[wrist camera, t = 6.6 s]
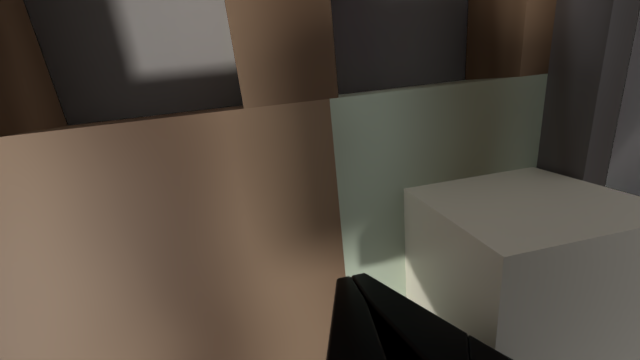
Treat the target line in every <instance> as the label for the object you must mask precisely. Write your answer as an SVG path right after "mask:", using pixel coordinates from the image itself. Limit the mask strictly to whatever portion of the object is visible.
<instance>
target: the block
mask: <svg viewBox="0 0 640 360" xmlns="http://www.w3.org/2000/svg"><path fill="white" fill-rule="evenodd" d="M404 226H405V271H406V297H407V298H408V299H410V300H412V301H413V302H415V303H417V304H418V305H420V306H422V307H423V308H425V309H427V310H429V311H430V312H432V313H434V314H435V315H437V316H439V317H440V318H442V319H444V320H445V321H447V322H449V323H450V324H452V325H454V326H456V327H457V328H459V329H461V330H462V331H464V332H466V333H467V334H468V336H469V335H471V336H473V337H474V338H476V339H478V340H479V341H481V342H483V343H484V344H486V345H488V346H490V347H492V348H493V349H495V350H497V351H499V352H500V353H502V354H504V355H506V356H507V357H509V358H511V359H513V360H640V196H636V195H633V194H629V193H626V192H622V191H618V190H615V189H611V188H608V187H604V186H600V185H597V184H593V183H589V182H586V181H582V180H579V179H575V178H571V177H568V176H564V175H561V174H557V173H553V172H550V171H546V170H542V169H539V168H535V167H529V168H523V169H517V170H511V171H505V172H499V173H493V174H487V175H481V176H475V177H469V178H463V179H457V180H451V181H446V182H440V183H434V184H428V185H422V186H416V187H410V188H404Z"/></svg>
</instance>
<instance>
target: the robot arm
mask: <svg viewBox="0 0 640 360" xmlns="http://www.w3.org/2000/svg"><path fill="white" fill-rule="evenodd" d="M326 360H513V359H511V358H509V357H507V356H506V355H504V354H502V353H500V352H499V351H497V350H495V349H493V348H492V347H490V346H488V345H486V344H484V343H483V342H481V341H479V340H478V339H476V338H474V337H473V336H471V335H469V336H468V334H467V333H466V332H464V331H462V330H461V329H459V328H457V327H456V326H454V325H452V324H450V323H449V322H447V321H445V320H444V319H442V318H440V317H439V316H437V315H435V314H434V313H432V312H430V311H429V310H427V309H425V308H423V307H422V306H420V305H418V304H417V303H415V302H413V301H412V300H410V299H408V298H407V297H405V296H403V295H402V294H400V293H398V292H396V291H395V290H393V289H391V288H390V287H388V286H386V285H385V284H383V283H381V282H380V281H378V280H376V279H375V278H373V277H371V276H369V275H368V274H366V273H361V274H356V275H352V277H350V276H346V277H341V278H338V279H337V280H336V288H335V295H334V303H333V310H332V318H331V326H330V333H329V341H328V348H327V356H326Z"/></svg>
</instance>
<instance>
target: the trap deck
mask: <svg viewBox="0 0 640 360" xmlns="http://www.w3.org/2000/svg"><path fill="white" fill-rule="evenodd" d="M225 5H226V11H227V17H228V22H229V28H230V34H231V39H232V45H233V51H234V56H235V62H236V68H237V73H238V79H239V85H240V90H241V96H242V102H243V105H242V106H234V107H225V108H216V109H207V110H199V111H190V112H181V113H172V114H163V115H155V116H146V117H137V118H128V119H120V120H111V121H102V122H93V123H85V124H76V125H67V122H66V120H65V117H64V114H63V111H62V108H61V106H60V103H59V100H58V97H57V94H56V92H55V89H54V86H53V83H52V80H51V78H50V75H49V72H48V69H47V66H46V64H45V61H44V58H43V55H42V52H41V50H40V47H39V44H38V41H37V38H36V35H35V33H34V30H33V27H32V24H31V21H30V19H29V16H28V13H27V10H26V7H25V5H24V2H23V0H0V360H326V356H327V348H328V341H329V333H330V326H331V318H332V310H333V303H334V295H335V288H336V280H337V279H338V278H341V277H346V276H350V277H352V275H356V274H361V273H366V274H368V275H369V276H371V277H373V278H375V279H376V280H378V281H380V282H381V283H383V284H385V285H386V286H388V287H390V288H391V289H393V290H395V291H396V292H398V293H400V294H402V295H403V296H405V297H406V271H405V226H404V188H410V187H416V186H422V185H428V184H434V183H440V182H446V181H451V180H457V179H463V178H469V177H475V176H481V175H487V174H493V173H499V172H505V171H511V170H517V169H523V168H529V167H535V168H539V169H542V170H546V171H550V172H553V173H557V174H561V175H564V176H568V177H571V178H575V179H579V180H582V181H586V182H589V183H593V184H597V185H600V186H604V187H605V183H606V178H607V173H608V168H609V163H610V158H611V153H612V147H613V142H614V137H615V132H616V127H617V122H618V117H619V112H620V107H621V101H622V96H623V91H624V86H625V81H626V76H627V71H628V66H629V61H630V55H631V50H632V45H633V40H634V35H635V30H636V25H637V20H638V15H639V9H640V0H468V24H467V49H466V73H465V80H461V81H453V82H444V83H435V84H426V85H418V86H409V87H400V88H391V89H382V90H374V91H365V92H356V93H347V94H339V95H338V84H337V72H336V60H335V48H334V36H333V23H332V11H331V0H225Z"/></svg>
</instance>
